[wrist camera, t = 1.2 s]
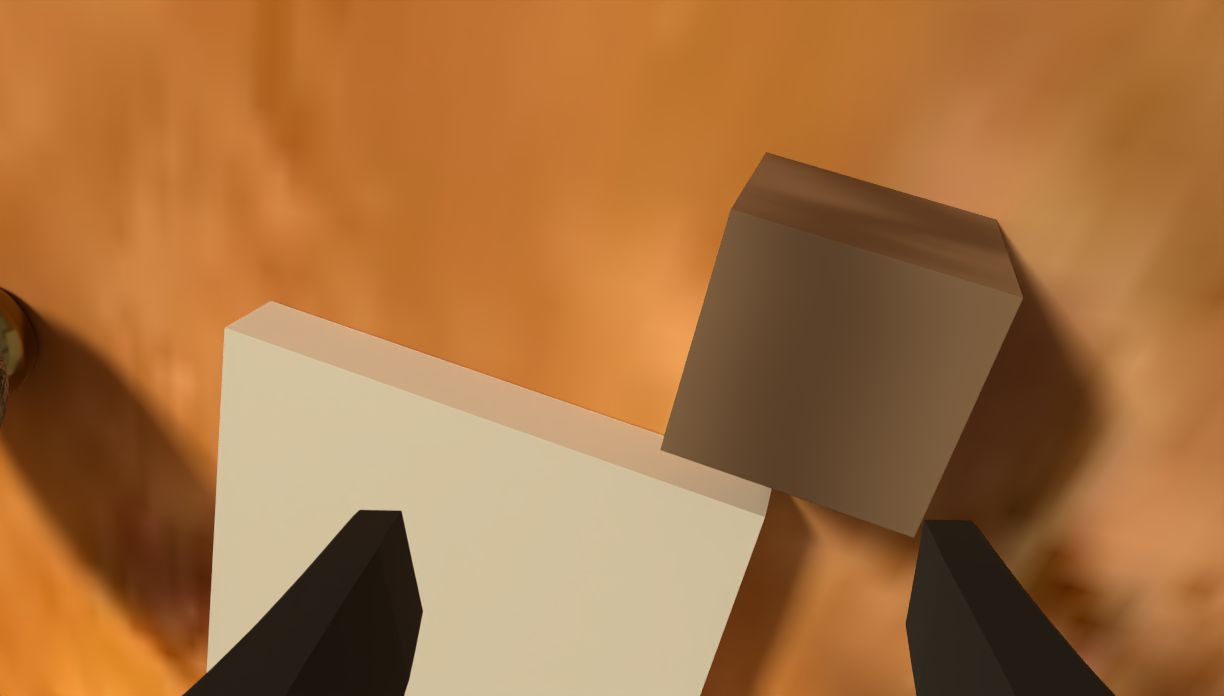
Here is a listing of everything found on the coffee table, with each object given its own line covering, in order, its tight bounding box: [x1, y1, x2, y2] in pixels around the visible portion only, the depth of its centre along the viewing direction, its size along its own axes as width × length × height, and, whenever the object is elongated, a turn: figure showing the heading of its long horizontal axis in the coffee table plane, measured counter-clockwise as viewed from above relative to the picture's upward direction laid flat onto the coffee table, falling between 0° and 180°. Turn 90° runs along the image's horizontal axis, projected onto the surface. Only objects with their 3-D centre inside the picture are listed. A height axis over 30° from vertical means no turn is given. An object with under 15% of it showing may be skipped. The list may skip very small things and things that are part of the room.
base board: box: [207, 301, 772, 696], centre depth 27 cm, size 14×14×2 cm
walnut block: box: [660, 152, 1023, 538], centre depth 19 cm, size 5×5×5 cm
